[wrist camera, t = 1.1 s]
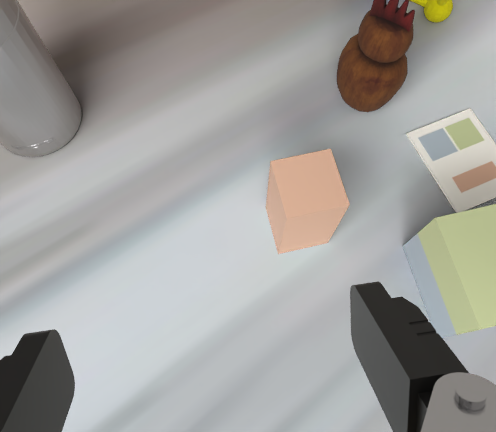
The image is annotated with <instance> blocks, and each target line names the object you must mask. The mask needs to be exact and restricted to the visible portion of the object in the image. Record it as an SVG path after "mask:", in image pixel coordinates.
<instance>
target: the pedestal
mask: <svg viewBox="0 0 496 432" xmlns="http://www.w3.org/2000/svg"><path fill="white" fill-rule="evenodd" d="M403 248H404V251H405V254H406V256H407V259H408V262H409V264H410V267H411V270H412V273H413V275H414V278H415V281H416V283H417V286H418V289H419V291H420V294H421V297H422V300H423V302H424V305H425V308H426V310H427V313H428V316H429V318H430V321H431V324H432V326H433V327H434V328H435V330H436V333H438V334H439V335H440V336H441V337H442V338H444V337H449V336H453V335H458V334H462V333H467V332H472V331H476V330H481V329H485V328H489V327H493V326H496V204H494V205H489V206H485V207H480V208H476V209H472V210H467V211H463V212H459V213H454V214H450V215H445V216H441V217H437V218H434V219H433V220H432V221H431V222H430V223H429V224H428V225H426V226H425V227H424V228H423V229H422V230H421V231H419V232H418V233H417V234H416V235H415V236H414V237H413V238H411V239H410V240H409V241H408V242H407V243H406V244H405V245H403Z"/></svg>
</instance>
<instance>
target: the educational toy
mask: <svg viewBox="0 0 496 432" xmlns="http://www.w3.org/2000/svg"><path fill="white" fill-rule="evenodd" d="M410 1H412V2H414V3H416V4H419V5H421V6H423V7H424V14H425V16H426V18H427V19H428V20H429V21H431V22H441V21H443V20H445V19H446V18H447V17H448V16H449V15H450V13H451V11H452V9H453V3H452V0H410Z"/></svg>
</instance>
